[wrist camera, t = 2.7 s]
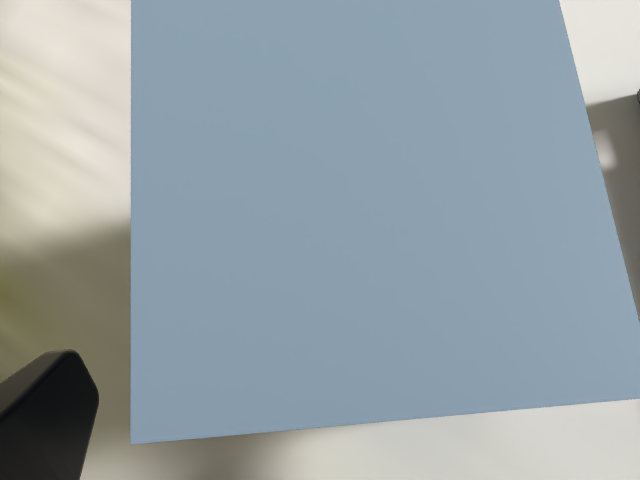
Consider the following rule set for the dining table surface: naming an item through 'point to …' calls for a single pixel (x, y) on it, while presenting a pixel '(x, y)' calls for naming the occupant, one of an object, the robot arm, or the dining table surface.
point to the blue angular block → (365, 217)
